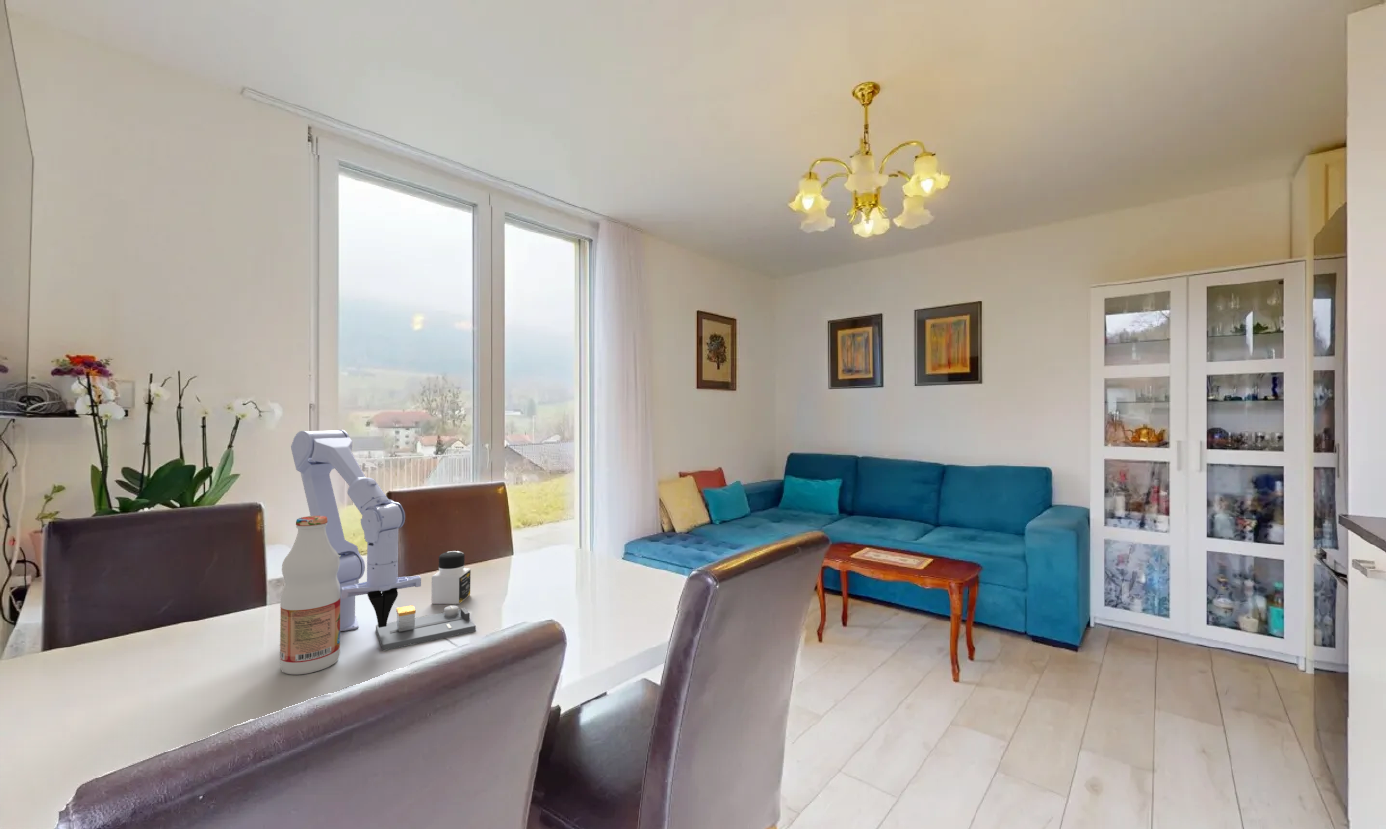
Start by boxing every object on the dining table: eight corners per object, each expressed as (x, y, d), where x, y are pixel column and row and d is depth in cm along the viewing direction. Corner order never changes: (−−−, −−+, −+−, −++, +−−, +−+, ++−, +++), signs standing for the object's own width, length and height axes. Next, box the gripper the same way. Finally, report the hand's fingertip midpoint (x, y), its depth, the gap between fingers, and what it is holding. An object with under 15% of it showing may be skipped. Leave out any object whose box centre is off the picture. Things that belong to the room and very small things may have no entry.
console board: (382, 650, 112) (383, 636, 112) (375, 630, 122) (376, 617, 121) (475, 631, 122) (475, 617, 122) (462, 614, 132) (462, 601, 132)
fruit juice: (266, 671, 102) (268, 520, 102) (314, 650, 111) (315, 511, 111) (306, 679, 100) (308, 524, 99) (351, 656, 109) (353, 515, 108)
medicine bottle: (459, 604, 138) (460, 556, 138) (430, 604, 138) (431, 556, 138) (470, 595, 145) (471, 549, 145) (443, 594, 145) (443, 549, 145)
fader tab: (398, 632, 117) (398, 613, 117) (396, 626, 120) (396, 608, 120) (415, 629, 119) (415, 610, 119) (412, 623, 122) (412, 605, 122)
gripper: (343, 571, 109) (342, 640, 109) (424, 560, 118) (423, 624, 118) (341, 563, 115) (340, 628, 115) (418, 553, 123) (417, 614, 124)
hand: (382, 625), depth 117 cm, fingers closed
